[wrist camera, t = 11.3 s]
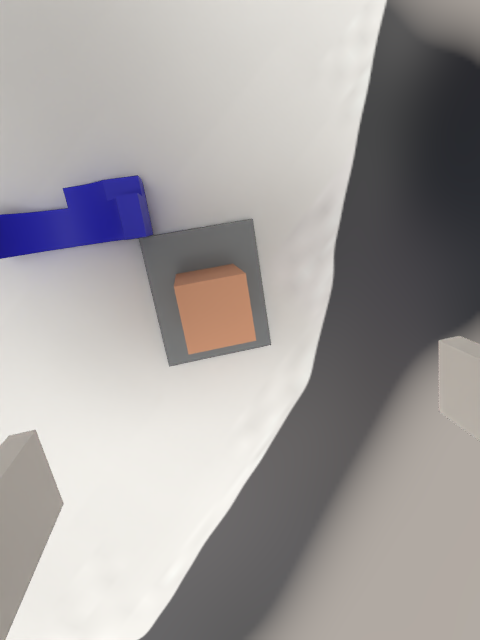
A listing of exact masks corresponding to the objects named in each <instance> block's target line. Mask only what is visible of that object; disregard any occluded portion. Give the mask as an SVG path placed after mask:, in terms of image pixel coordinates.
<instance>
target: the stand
mask: <svg viewBox="0 0 480 640" xmlns="http://www.w3.org/2000/svg"><path fill="white" fill-rule="evenodd" d="M139 242H140V246H141V250H142V254H143V258H144V262H145V267H146V271H147V275H148V279H149V283H150V288H151V292H152V296H153V300H154V304H155V309H156V313H157V317H158V321H159V325H160V329H161V334H162V338H163V342H164V346H165V350H166V355H167V359H168V363H169V366H173V365H178V364H183V363H187V362H192V361H197V360H202V359H206V358H211V357H216V356H220V355H225V354H230V353H235V352H239V351H244V350H249V349H254V348H258V347H263V346H268V345H271V341H270V334H269V327H268V320H267V314H266V307H265V300H264V293H263V286H262V280H261V273H260V266H259V259H258V253H257V246H256V239H255V232H254V225H253V219H248V220H242V221H236V222H231V223H225V224H219V225H213V226H207V227H202V228H196V229H190V230H184V231H178V232H172V233H167V234H161V235H155V236H149V237H143V238H139ZM229 264H234V265H235V266H237V267H238V268H239V269H241V270H242V271H243V272H245V273H246V278H247V285H248V291H249V297H250V304H251V310H252V316H253V323H254V329H255V335H256V341H252V342H247V343H242V344H237V345H233V346H228V347H223V348H218V349H213V350H209V351H204V352H199V353H194V354H188V349H187V345H186V340H185V336H184V331H183V327H182V322H181V317H180V313H179V308H178V304H177V299H176V295H175V290H174V282H175V276H176V274H179V273H185V272H190V271H196V270H201V269H207V268H212V267H218V266H223V265H229Z"/></svg>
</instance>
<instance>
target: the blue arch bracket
mask: <svg viewBox="0 0 480 640" xmlns="http://www.w3.org/2000/svg"><path fill="white" fill-rule="evenodd" d="M63 191H64V194H65V198H66V202H67V205H68V208H66V209H58V210H50V211H40V212H30V213H18V214H2V215H0V259H2V258H7V257H13V256H19V255H25V254H32V253H38V252H44V251H50V250H57V249H63V248H70V247H76V246H83V245H90V244H96V243H103V242H110V241H118V240H128V239H135V238H142V237H147V236H151V235H153V231H152V226H151V221H150V216H149V211H148V207H147V202H146V197H145V192H144V187H143V182H142V179H141V178H140V177H139V176H138V175H137V176H130V177H122V178H115V179H107V180H101V181H98V182H94V183H90V184H86V185H80V186H75V187H68V188H63Z"/></svg>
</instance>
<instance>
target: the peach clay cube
mask: <svg viewBox="0 0 480 640" xmlns="http://www.w3.org/2000/svg"><path fill="white" fill-rule="evenodd" d="M174 290H175V295H176V299H177V304H178V308H179V313H180V317H181V322H182V327H183V331H184V336H185V340H186V345H187V349H188V354H194V353H199V352H204V351H209V350H213V349H218V348H223V347H228V346H233V345H237V344H242V343H247V342H252V341H256V335H255V329H254V323H253V316H252V310H251V304H250V297H249V291H248V285H247V278H246V273H245V272H243V271H242V270H241V269H239V268H238V267H237V266H235V265H234V264H229V265H223V266H218V267H212V268H207V269H201V270H196V271H190V272H185V273H179V274H176V276H175V282H174Z"/></svg>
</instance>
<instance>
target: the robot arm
mask: <svg viewBox="0 0 480 640" xmlns="http://www.w3.org/2000/svg"><path fill="white" fill-rule="evenodd" d="M439 412H440V413H441V414H443V415H444V416H445V417H447V418H448V419H449V420H451V421H452V422H454V423H455V424H456V425H458V426H459V427H461V428H462V429H463V430H465V431H466V432H467V433H469V434H470V435H471V436H473V437H474V438H475V439H477V440H478V441H480V344H478V343H476V342H473V341H471V340H468V339H466V338H463V337H460V336H457V337H452V338H447V339H443V340H439ZM63 504H64V503H63V501H62V498H61V496H60V493H59V490H58V488H57V485H56V482H55V480H54V477H53V474H52V472H51V469H50V467H49V464H48V461H47V459H46V456H45V453H44V451H43V448H42V446H41V443H40V440H39V438H38V435H37V432H36V430H33V431H28V432H24V433H19V434H15V435H10V436H8V437H7V439H6V440H5V441H4V442H3V443H2V445H1V446H0V640H5V639H6V637H7V635H8V632H9V630H10V628H11V625H12V623H13V621H14V618H15V616H16V614H17V611H18V609H19V607H20V604H21V602H22V600H23V597H24V595H25V592H26V590H27V588H28V585H29V583H30V581H31V578H32V576H33V574H34V571H35V569H36V567H37V564H38V562H39V560H40V557H41V555H42V553H43V550H44V548H45V546H46V543H47V541H48V539H49V536H50V534H51V532H52V529H53V527H54V525H55V522H56V520H57V518H58V515H59V513H60V511H61V508H62V506H63Z"/></svg>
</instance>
